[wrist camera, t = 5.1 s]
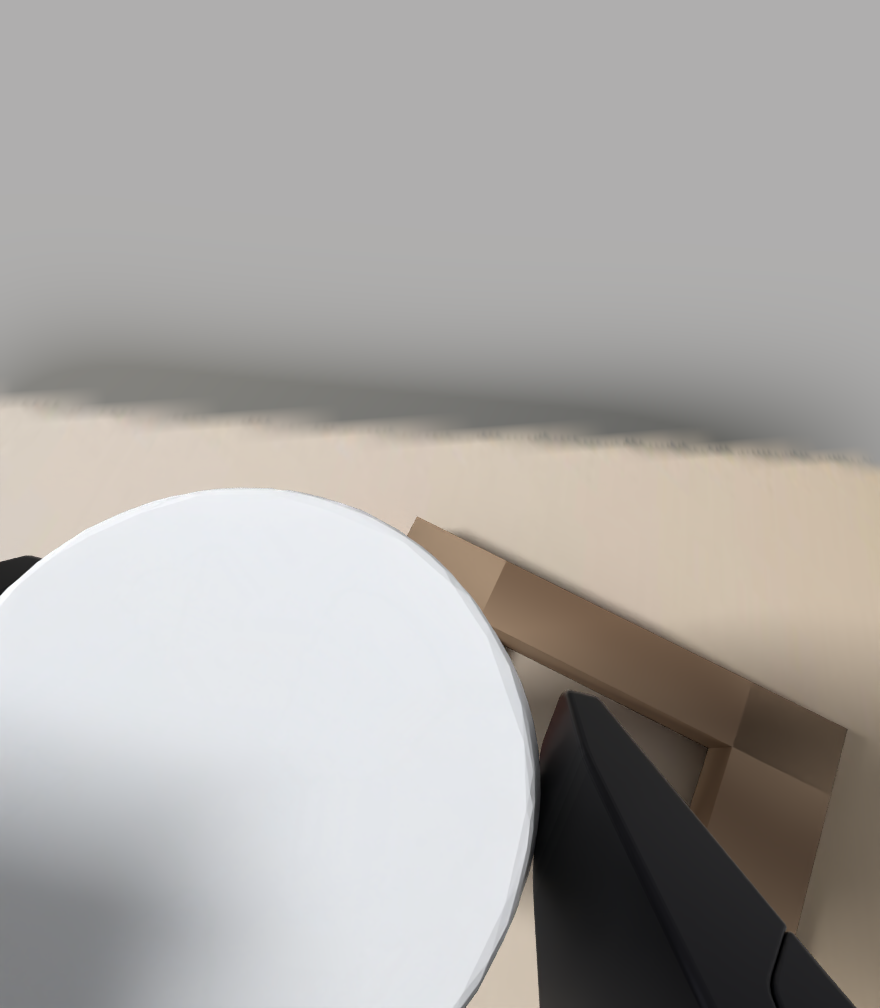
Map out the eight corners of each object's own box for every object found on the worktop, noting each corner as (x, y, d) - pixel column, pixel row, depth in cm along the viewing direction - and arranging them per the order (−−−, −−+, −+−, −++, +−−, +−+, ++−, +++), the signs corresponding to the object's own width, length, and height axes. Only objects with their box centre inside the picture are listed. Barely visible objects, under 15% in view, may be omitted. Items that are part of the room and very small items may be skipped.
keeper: (732, 1048, 19) (761, 1070, 18) (269, 804, 20) (263, 806, 19) (817, 732, 23) (847, 729, 21) (413, 531, 23) (417, 516, 22)
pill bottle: (347, 578, 17) (315, 280, 7) (521, 791, 16) (806, 816, 6) (114, 758, 15) (-405, 720, 5) (289, 1015, 14) (72, 1668, 4)
